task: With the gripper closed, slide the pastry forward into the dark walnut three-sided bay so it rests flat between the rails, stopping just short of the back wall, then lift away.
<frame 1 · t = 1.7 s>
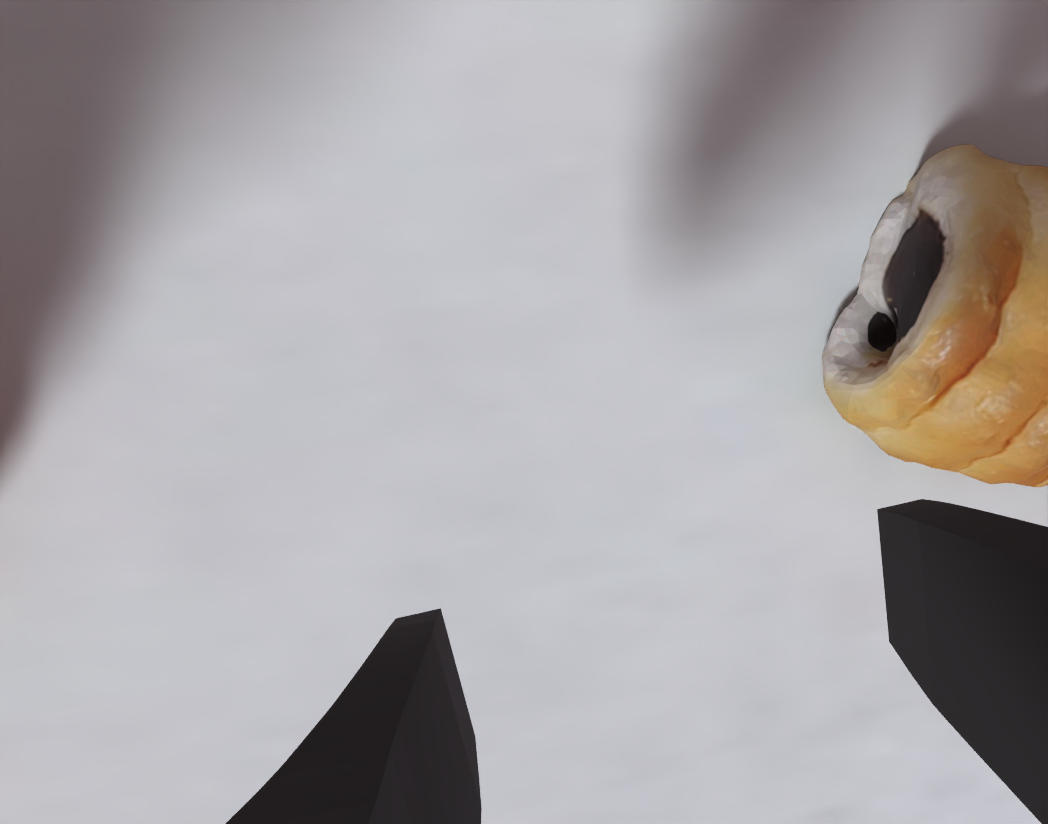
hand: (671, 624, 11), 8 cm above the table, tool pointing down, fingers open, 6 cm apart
pastry: (984, 320, 19), on the table
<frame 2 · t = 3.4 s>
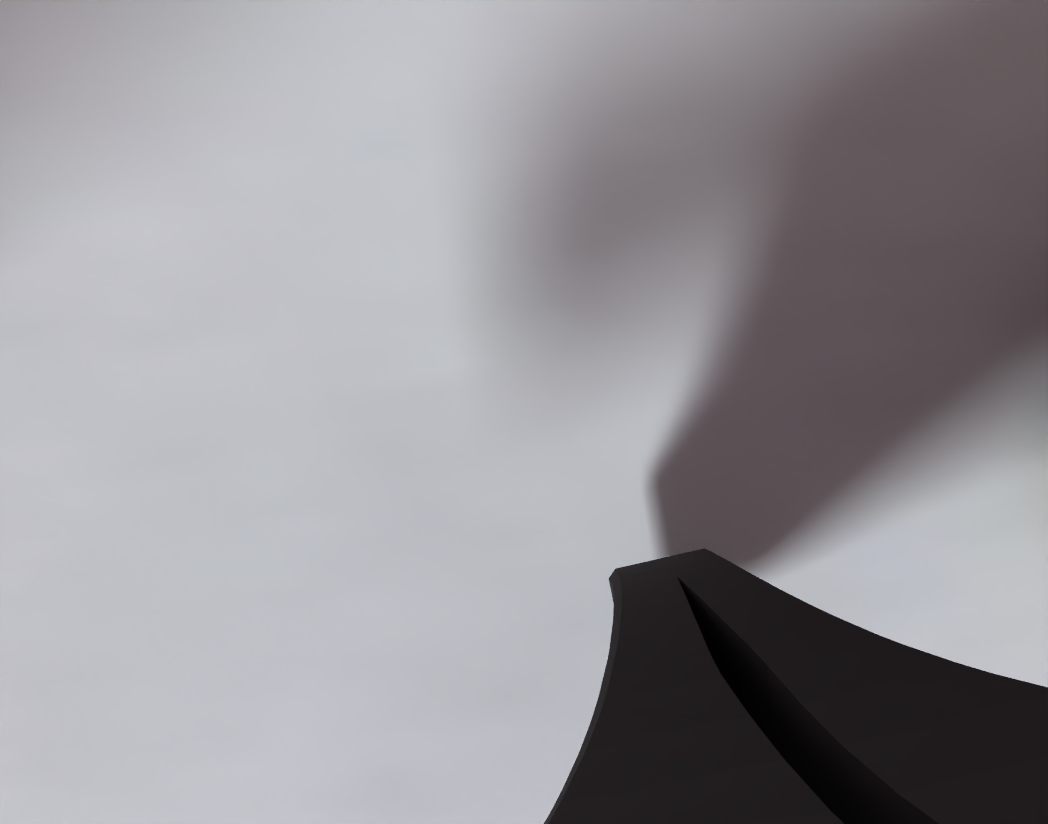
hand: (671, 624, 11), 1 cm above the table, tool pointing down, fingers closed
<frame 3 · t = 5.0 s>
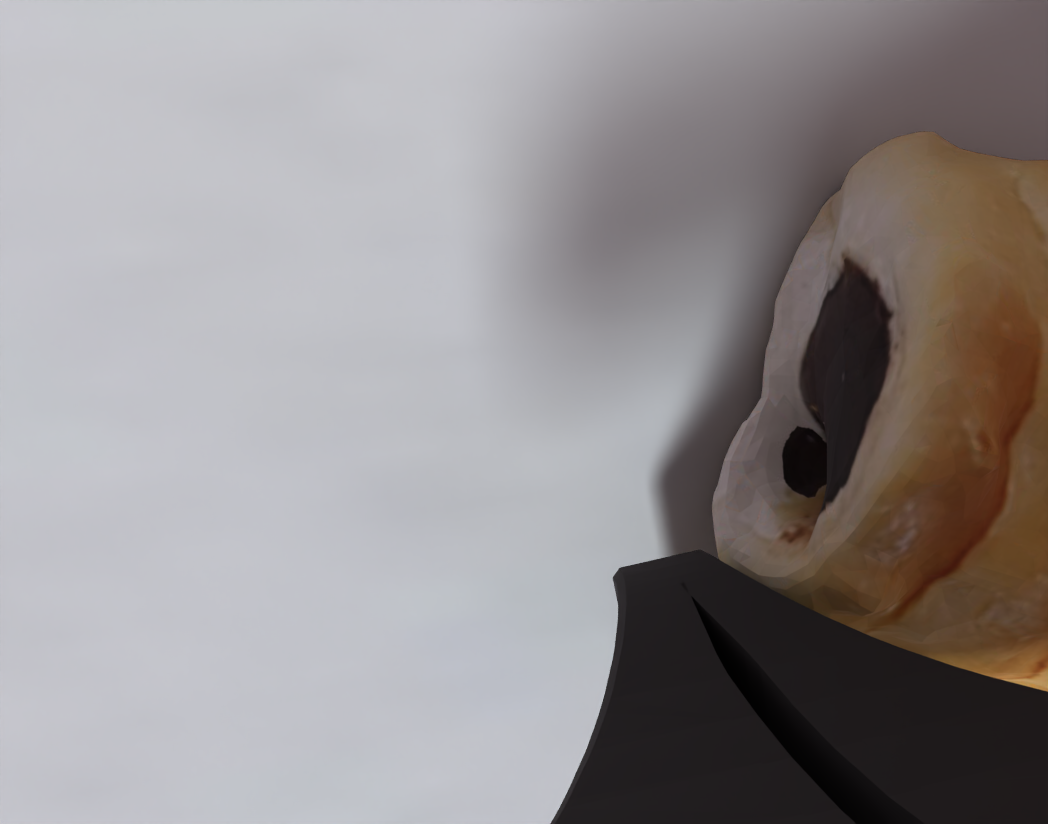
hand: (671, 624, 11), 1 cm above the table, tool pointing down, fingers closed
pastry: (982, 409, 12), on the table, touching gripper
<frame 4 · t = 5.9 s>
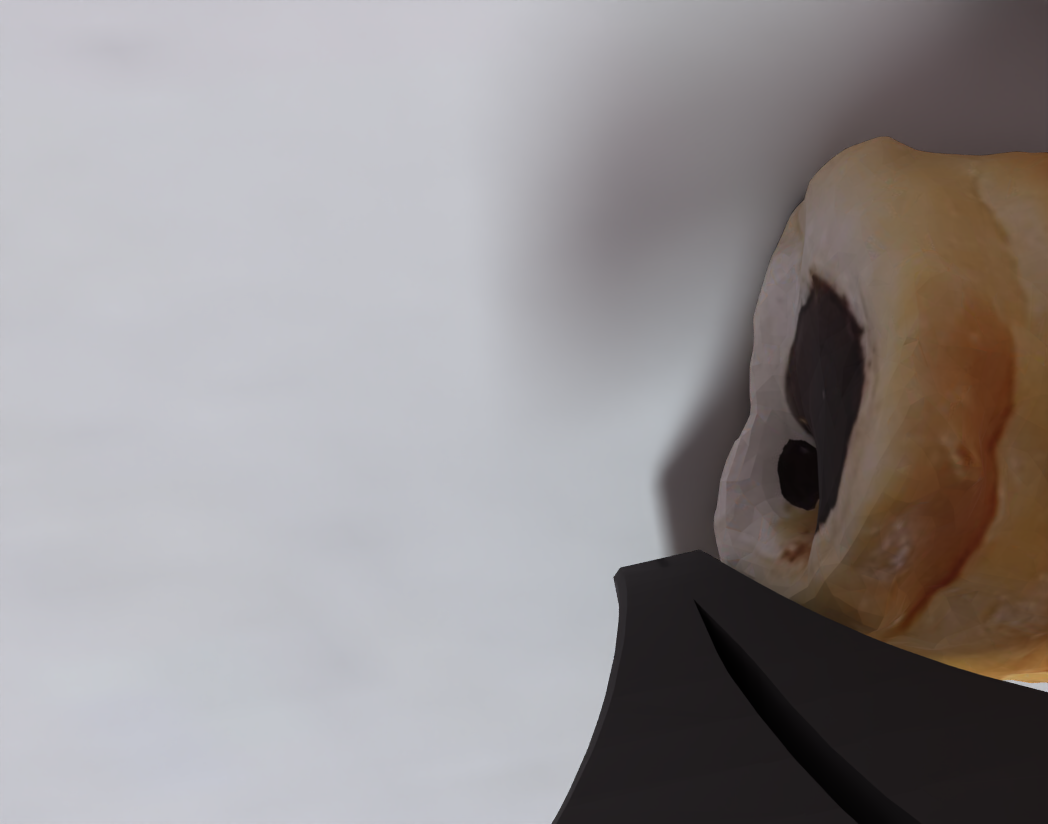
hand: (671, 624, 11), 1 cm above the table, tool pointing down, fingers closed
pastry: (979, 395, 12), on the table, touching gripper
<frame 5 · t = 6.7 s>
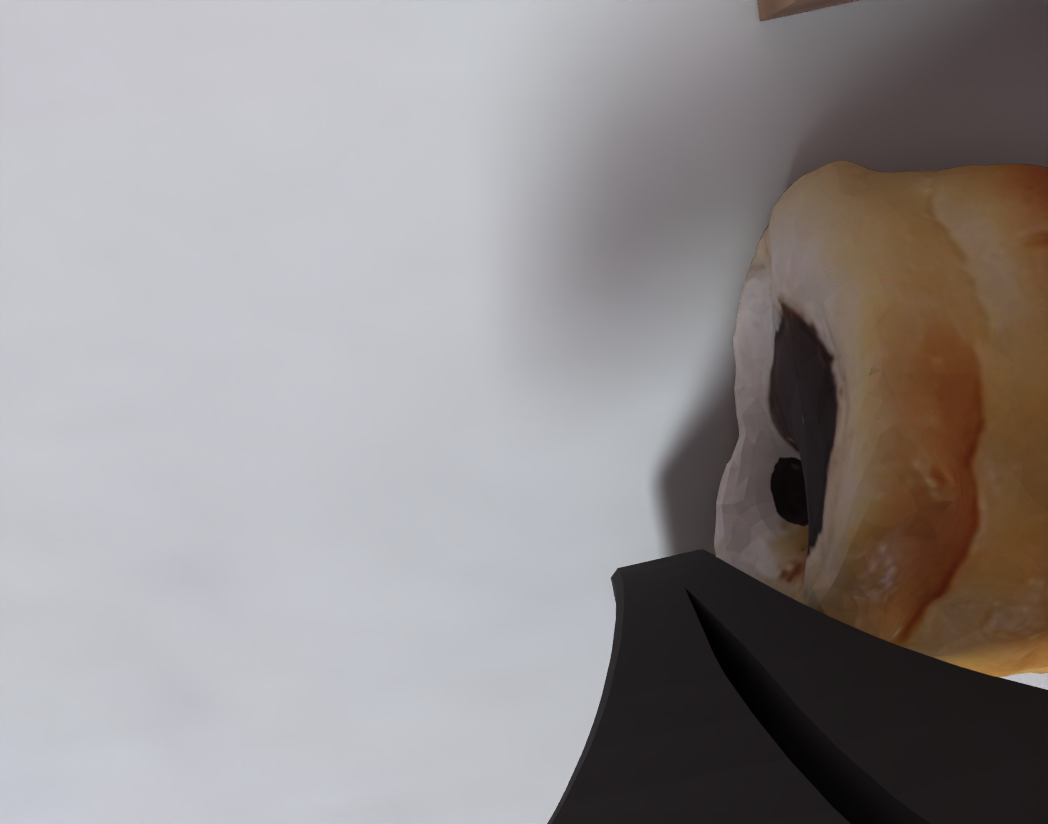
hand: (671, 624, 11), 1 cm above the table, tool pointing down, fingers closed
pastry: (967, 391, 12), on the table, touching gripper
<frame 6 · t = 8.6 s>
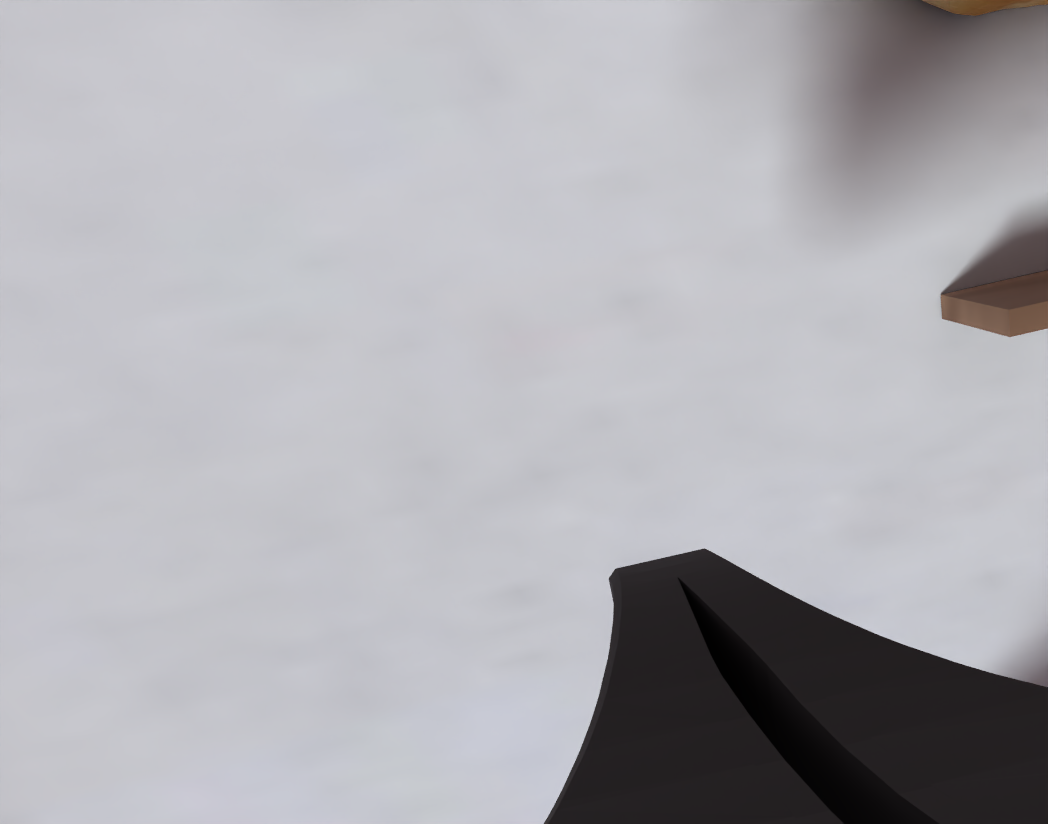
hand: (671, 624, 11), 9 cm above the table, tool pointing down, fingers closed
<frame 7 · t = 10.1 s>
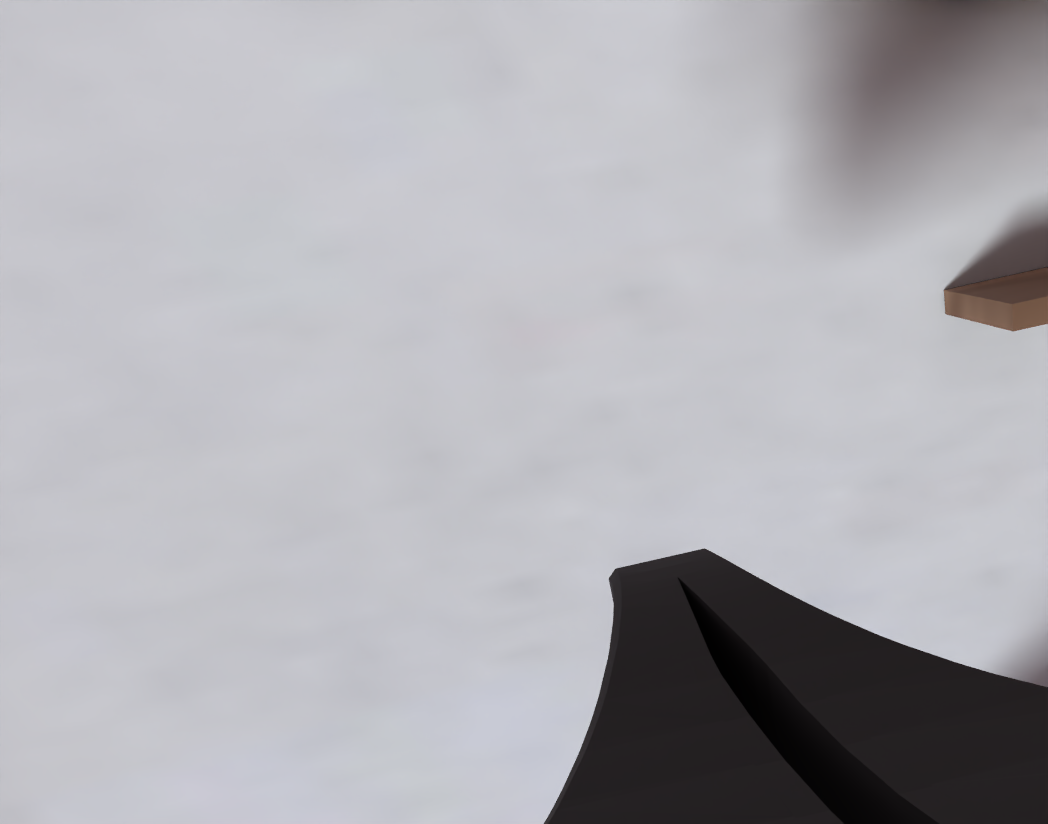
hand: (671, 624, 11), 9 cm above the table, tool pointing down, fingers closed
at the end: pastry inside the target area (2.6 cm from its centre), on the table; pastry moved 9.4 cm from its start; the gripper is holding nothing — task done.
